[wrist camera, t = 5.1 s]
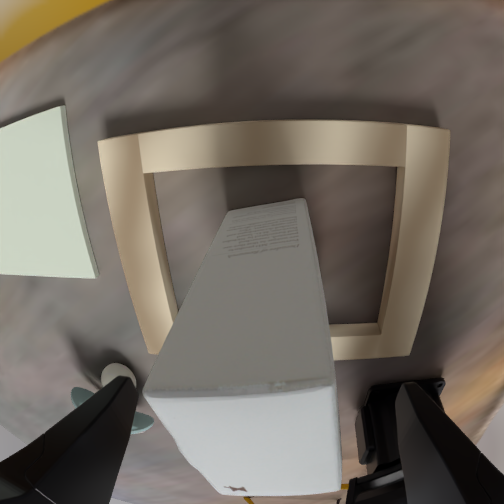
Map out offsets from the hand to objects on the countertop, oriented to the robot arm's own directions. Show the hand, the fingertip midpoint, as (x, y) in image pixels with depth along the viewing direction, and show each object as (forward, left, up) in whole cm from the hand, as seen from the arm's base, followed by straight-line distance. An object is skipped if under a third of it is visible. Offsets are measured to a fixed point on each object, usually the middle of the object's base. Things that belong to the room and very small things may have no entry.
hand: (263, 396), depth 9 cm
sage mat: (+17, -4, -10) cm, 20 cm away
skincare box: (0, 0, -10) cm, 10 cm away
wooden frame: (0, 0, -10) cm, 10 cm away
